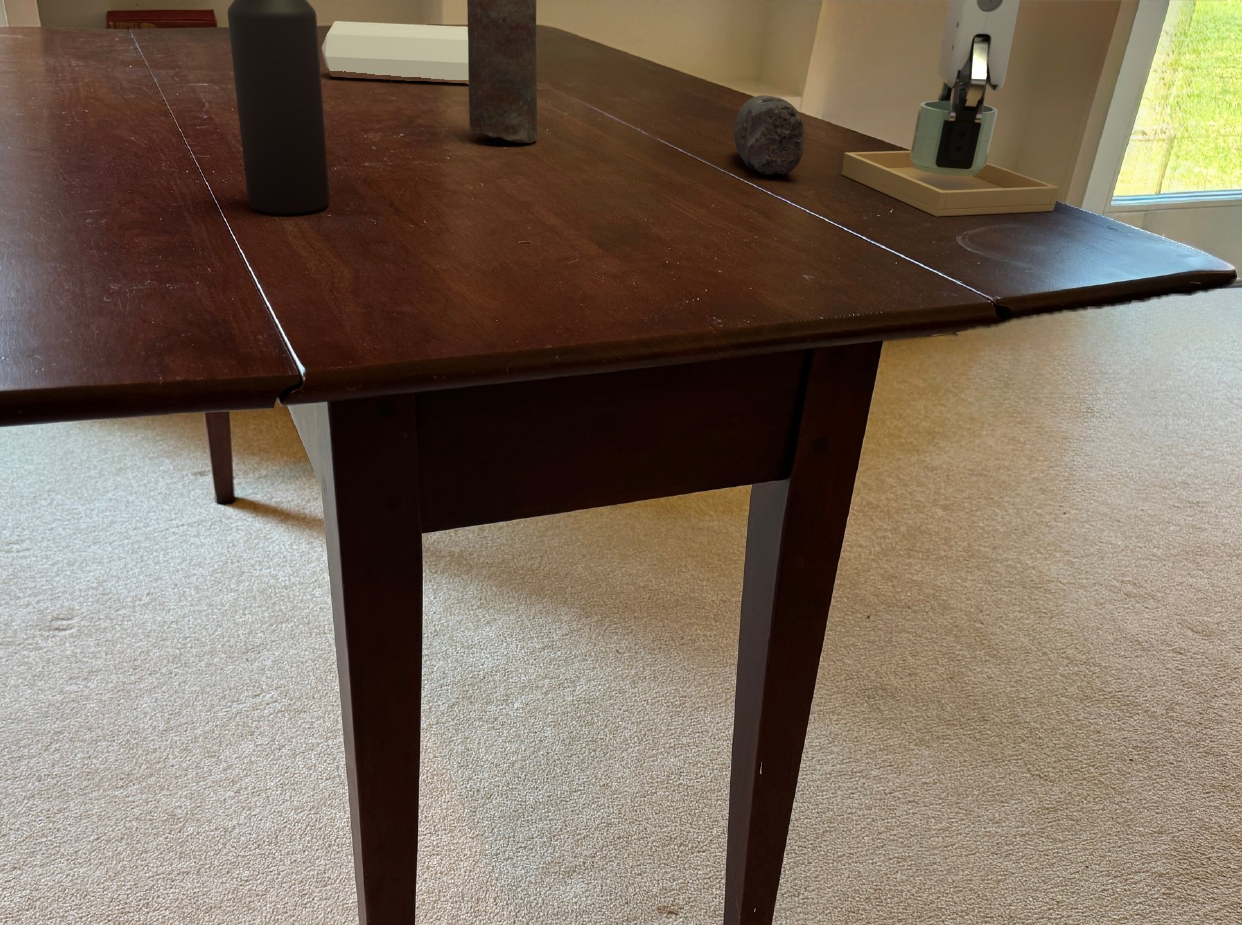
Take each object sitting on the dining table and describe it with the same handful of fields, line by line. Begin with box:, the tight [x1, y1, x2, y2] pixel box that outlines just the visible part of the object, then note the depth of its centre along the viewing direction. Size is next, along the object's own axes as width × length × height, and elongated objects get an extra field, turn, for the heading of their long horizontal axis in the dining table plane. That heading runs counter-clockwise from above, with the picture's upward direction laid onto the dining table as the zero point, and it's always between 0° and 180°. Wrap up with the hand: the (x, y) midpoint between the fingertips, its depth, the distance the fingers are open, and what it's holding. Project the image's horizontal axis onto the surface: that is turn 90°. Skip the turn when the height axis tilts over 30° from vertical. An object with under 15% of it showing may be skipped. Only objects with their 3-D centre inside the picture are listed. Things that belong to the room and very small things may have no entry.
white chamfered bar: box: [321, 20, 469, 80], centre depth 158 cm, size 7×7×24 cm
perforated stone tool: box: [733, 94, 806, 176], centre depth 112 cm, size 15×5×7 cm, turn 3°
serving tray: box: [841, 150, 1060, 218], centre depth 106 cm, size 12×17×2 cm
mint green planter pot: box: [910, 100, 999, 176], centre depth 104 cm, size 7×7×6 cm
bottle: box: [227, 0, 331, 216], centre depth 89 cm, size 7×7×20 cm
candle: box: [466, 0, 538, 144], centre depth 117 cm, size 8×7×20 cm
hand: (948, 157), depth 105 cm, fingers closed on mint green planter pot, 7 cm apart
